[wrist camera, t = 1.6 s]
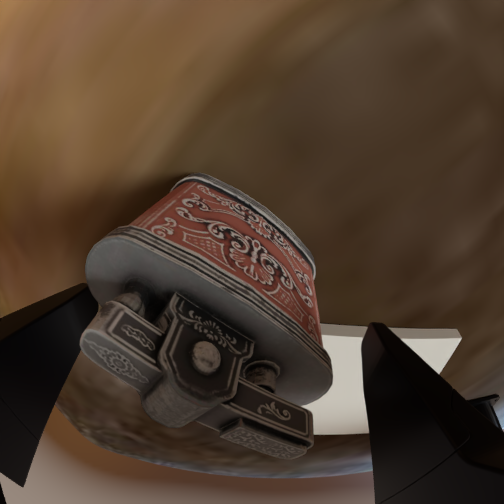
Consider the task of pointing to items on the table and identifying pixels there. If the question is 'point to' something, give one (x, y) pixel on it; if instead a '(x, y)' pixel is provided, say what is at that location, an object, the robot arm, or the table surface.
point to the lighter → (212, 317)
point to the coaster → (350, 373)
